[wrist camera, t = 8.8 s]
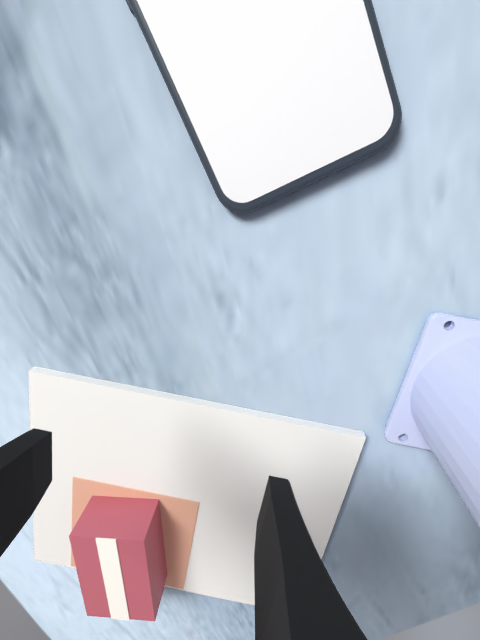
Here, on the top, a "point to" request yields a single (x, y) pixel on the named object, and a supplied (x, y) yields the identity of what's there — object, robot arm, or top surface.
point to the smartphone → (273, 88)
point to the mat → (183, 473)
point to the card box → (120, 557)
